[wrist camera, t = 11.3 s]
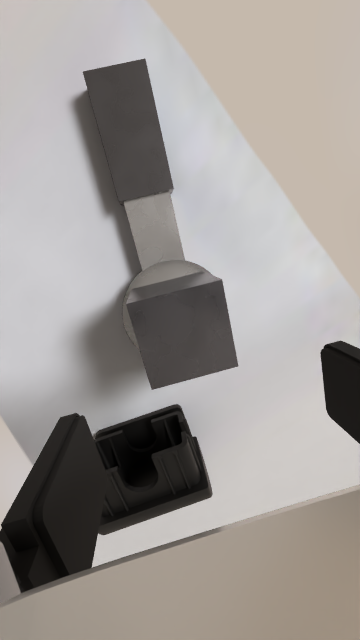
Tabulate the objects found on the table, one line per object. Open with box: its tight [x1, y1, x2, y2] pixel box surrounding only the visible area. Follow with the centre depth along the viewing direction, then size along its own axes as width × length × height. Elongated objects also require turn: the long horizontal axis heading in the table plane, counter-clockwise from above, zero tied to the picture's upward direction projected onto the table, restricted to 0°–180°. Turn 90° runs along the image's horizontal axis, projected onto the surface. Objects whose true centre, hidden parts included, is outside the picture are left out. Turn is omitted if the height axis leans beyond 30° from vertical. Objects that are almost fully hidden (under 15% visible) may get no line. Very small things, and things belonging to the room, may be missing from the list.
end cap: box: [94, 404, 212, 535], centre depth 24 cm, size 10×7×7 cm
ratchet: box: [83, 59, 212, 350], centre depth 20 cm, size 22×9×5 cm, turn 13°
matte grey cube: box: [126, 271, 238, 390], centre depth 19 cm, size 6×6×6 cm
